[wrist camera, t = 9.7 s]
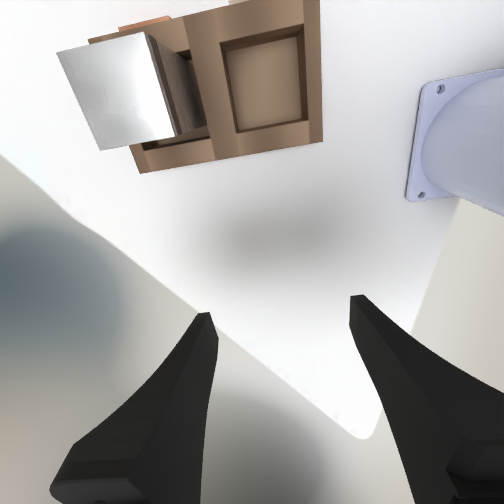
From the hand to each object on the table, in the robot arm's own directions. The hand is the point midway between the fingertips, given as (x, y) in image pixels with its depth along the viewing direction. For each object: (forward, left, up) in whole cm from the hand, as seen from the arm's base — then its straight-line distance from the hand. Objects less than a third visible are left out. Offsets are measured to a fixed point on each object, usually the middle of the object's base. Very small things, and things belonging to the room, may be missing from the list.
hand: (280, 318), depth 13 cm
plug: (+5, -11, -10) cm, 16 cm away
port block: (+2, -11, -10) cm, 15 cm away
